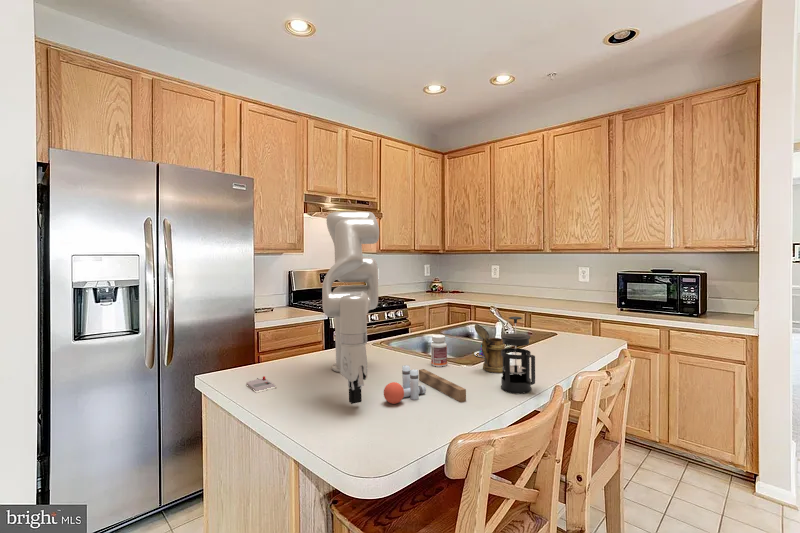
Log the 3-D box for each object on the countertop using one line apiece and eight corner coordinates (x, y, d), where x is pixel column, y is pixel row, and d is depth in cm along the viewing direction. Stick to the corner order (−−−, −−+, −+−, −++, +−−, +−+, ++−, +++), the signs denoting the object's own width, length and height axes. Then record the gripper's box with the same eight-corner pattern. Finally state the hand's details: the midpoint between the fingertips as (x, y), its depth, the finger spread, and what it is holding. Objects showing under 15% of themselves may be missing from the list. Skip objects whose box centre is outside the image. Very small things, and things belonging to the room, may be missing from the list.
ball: (401, 392, 123) (382, 398, 122) (399, 375, 121) (379, 381, 120) (408, 404, 118) (388, 410, 116) (405, 387, 116) (385, 393, 114)
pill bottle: (450, 365, 157) (450, 336, 156) (437, 368, 153) (437, 338, 153) (440, 361, 162) (439, 333, 161) (428, 364, 158) (427, 335, 158)
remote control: (258, 396, 128) (258, 387, 128) (242, 384, 141) (242, 375, 141) (278, 391, 133) (278, 382, 132) (261, 380, 145) (261, 372, 145)
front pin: (397, 388, 124) (422, 383, 128) (397, 396, 124) (422, 391, 128) (401, 391, 122) (426, 386, 125) (401, 399, 122) (426, 394, 125)
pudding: (509, 356, 170) (509, 344, 169) (488, 361, 163) (488, 348, 163) (488, 350, 180) (488, 339, 179) (468, 355, 173) (467, 342, 173)
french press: (493, 388, 130) (492, 316, 129) (510, 381, 136) (510, 313, 135) (524, 397, 121) (524, 321, 120) (542, 390, 127) (541, 317, 126)
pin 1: (401, 392, 127) (400, 366, 127) (408, 391, 128) (407, 364, 128) (405, 395, 125) (404, 368, 125) (412, 393, 126) (411, 366, 126)
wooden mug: (468, 370, 149) (467, 322, 149) (495, 364, 156) (494, 318, 156) (485, 376, 142) (484, 325, 141) (512, 370, 149) (512, 321, 148)
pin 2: (409, 398, 123) (408, 370, 122) (416, 396, 124) (415, 368, 123) (413, 400, 120) (412, 372, 120) (420, 399, 122) (419, 370, 121)
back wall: (419, 379, 140) (418, 369, 139) (424, 379, 140) (423, 369, 140) (460, 402, 118) (460, 390, 118) (466, 401, 119) (465, 389, 119)
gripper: (332, 335, 120) (334, 396, 121) (350, 345, 107) (352, 413, 108) (356, 332, 124) (357, 392, 124) (376, 341, 110) (378, 408, 111)
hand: (355, 402), depth 116 cm, fingers closed
